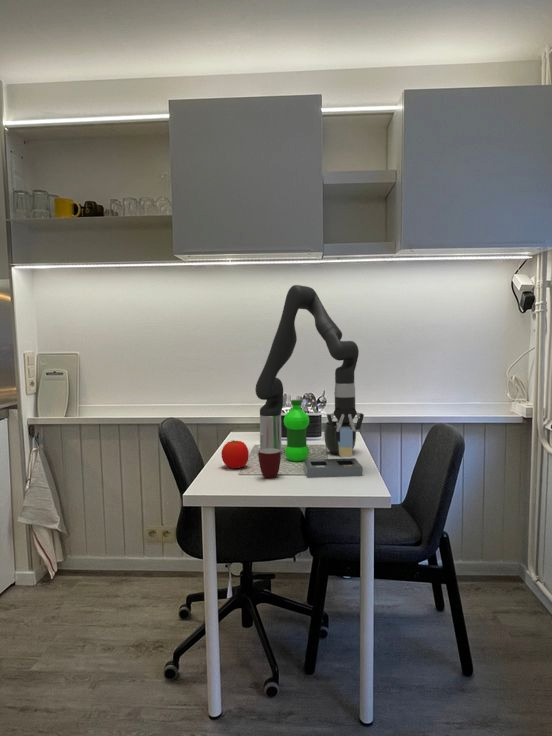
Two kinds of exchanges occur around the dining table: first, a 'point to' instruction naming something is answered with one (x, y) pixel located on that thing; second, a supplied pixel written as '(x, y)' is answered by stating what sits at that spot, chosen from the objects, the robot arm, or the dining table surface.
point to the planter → (330, 437)
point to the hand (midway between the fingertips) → (345, 440)
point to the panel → (332, 468)
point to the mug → (269, 462)
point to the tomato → (235, 454)
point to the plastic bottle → (296, 432)
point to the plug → (345, 441)
